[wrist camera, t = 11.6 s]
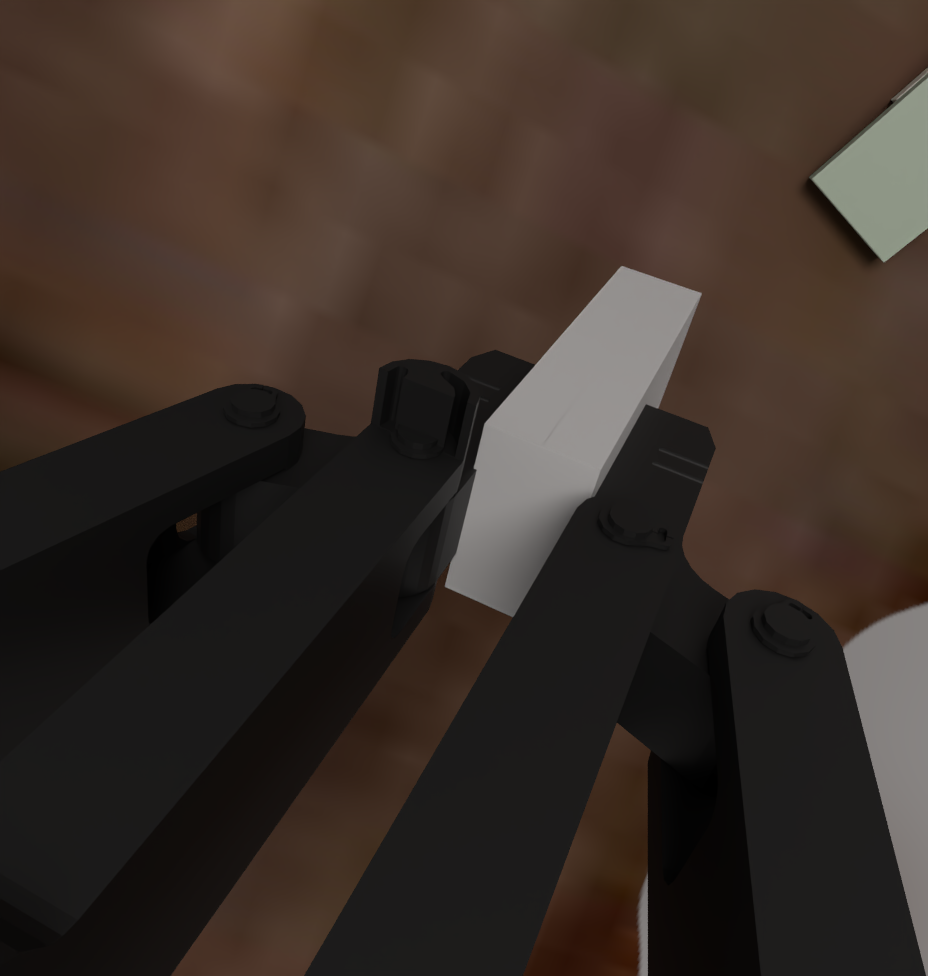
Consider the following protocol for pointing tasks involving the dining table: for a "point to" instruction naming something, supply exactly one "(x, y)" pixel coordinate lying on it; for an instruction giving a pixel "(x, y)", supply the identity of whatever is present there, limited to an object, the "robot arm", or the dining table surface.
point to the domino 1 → (884, 175)
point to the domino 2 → (910, 85)
